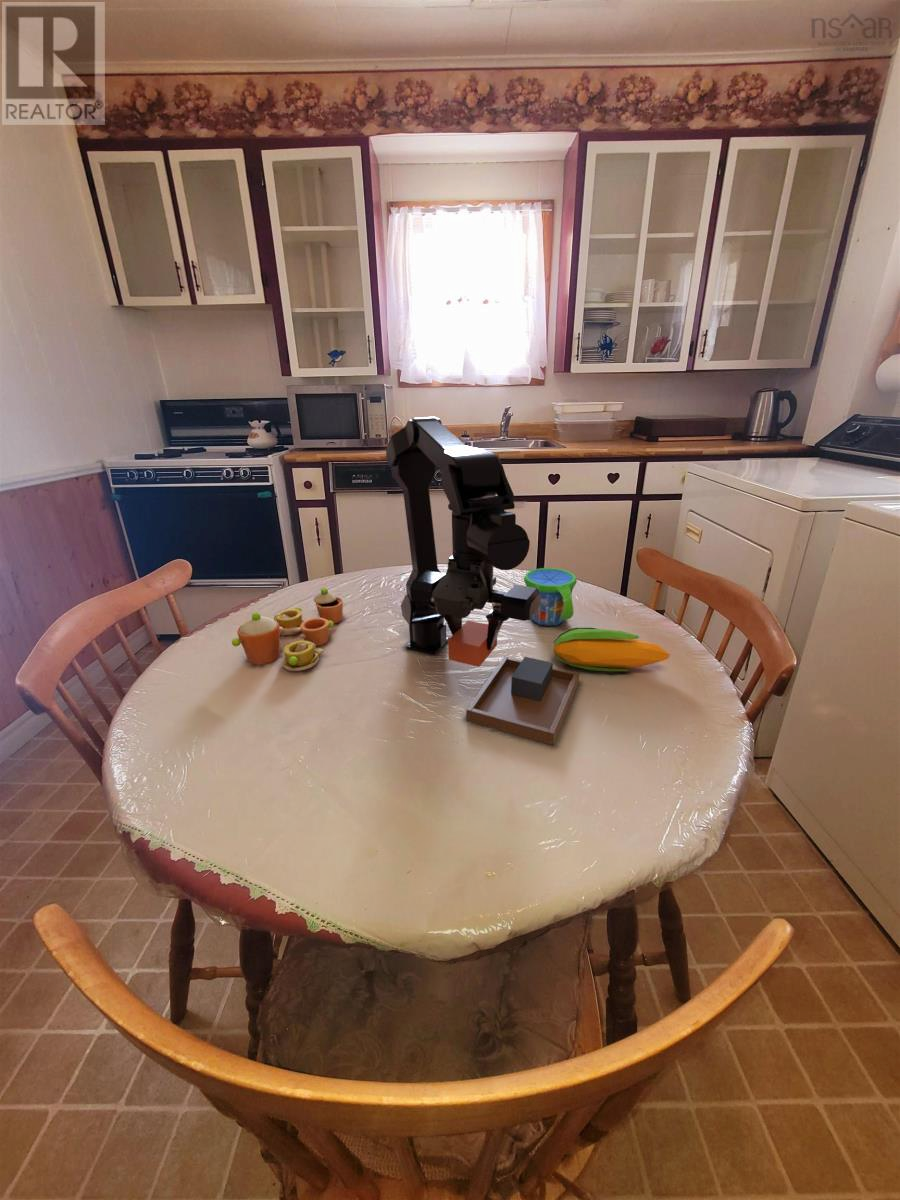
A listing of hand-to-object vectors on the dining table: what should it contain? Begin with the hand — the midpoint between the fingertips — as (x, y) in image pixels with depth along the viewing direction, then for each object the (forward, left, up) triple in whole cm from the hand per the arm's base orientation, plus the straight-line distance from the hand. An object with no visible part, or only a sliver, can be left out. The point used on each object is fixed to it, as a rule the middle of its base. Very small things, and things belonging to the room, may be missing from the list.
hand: (473, 645), depth 74 cm
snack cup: (+3, +35, -11) cm, 37 cm away
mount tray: (+7, +5, -11) cm, 14 cm away
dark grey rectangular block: (+7, +8, -11) cm, 15 cm away
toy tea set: (-41, +6, -11) cm, 43 cm away
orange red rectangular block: (0, 0, -1) cm, 1 cm away
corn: (+18, +21, -11) cm, 30 cm away
